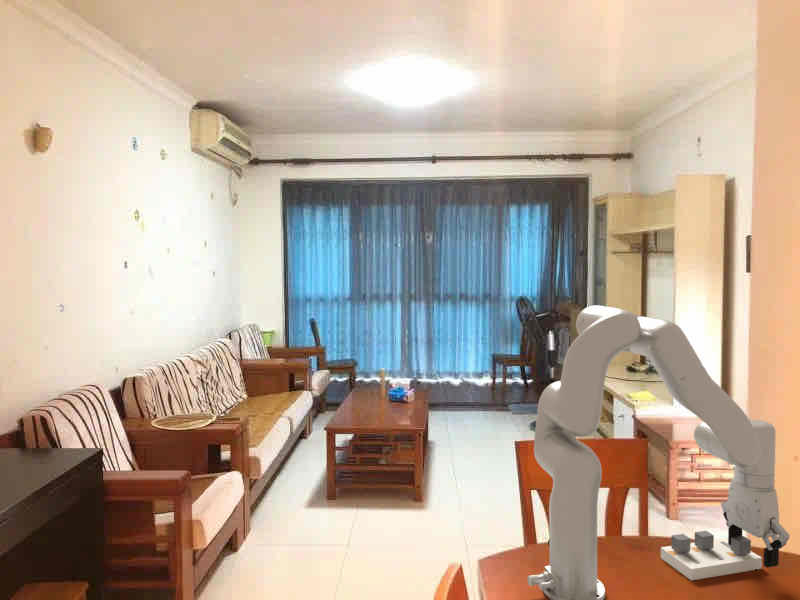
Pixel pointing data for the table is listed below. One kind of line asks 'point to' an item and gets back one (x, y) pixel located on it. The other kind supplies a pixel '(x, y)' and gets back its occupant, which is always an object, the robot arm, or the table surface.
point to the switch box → (710, 560)
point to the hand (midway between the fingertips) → (752, 554)
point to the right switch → (740, 545)
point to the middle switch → (704, 540)
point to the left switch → (680, 543)
